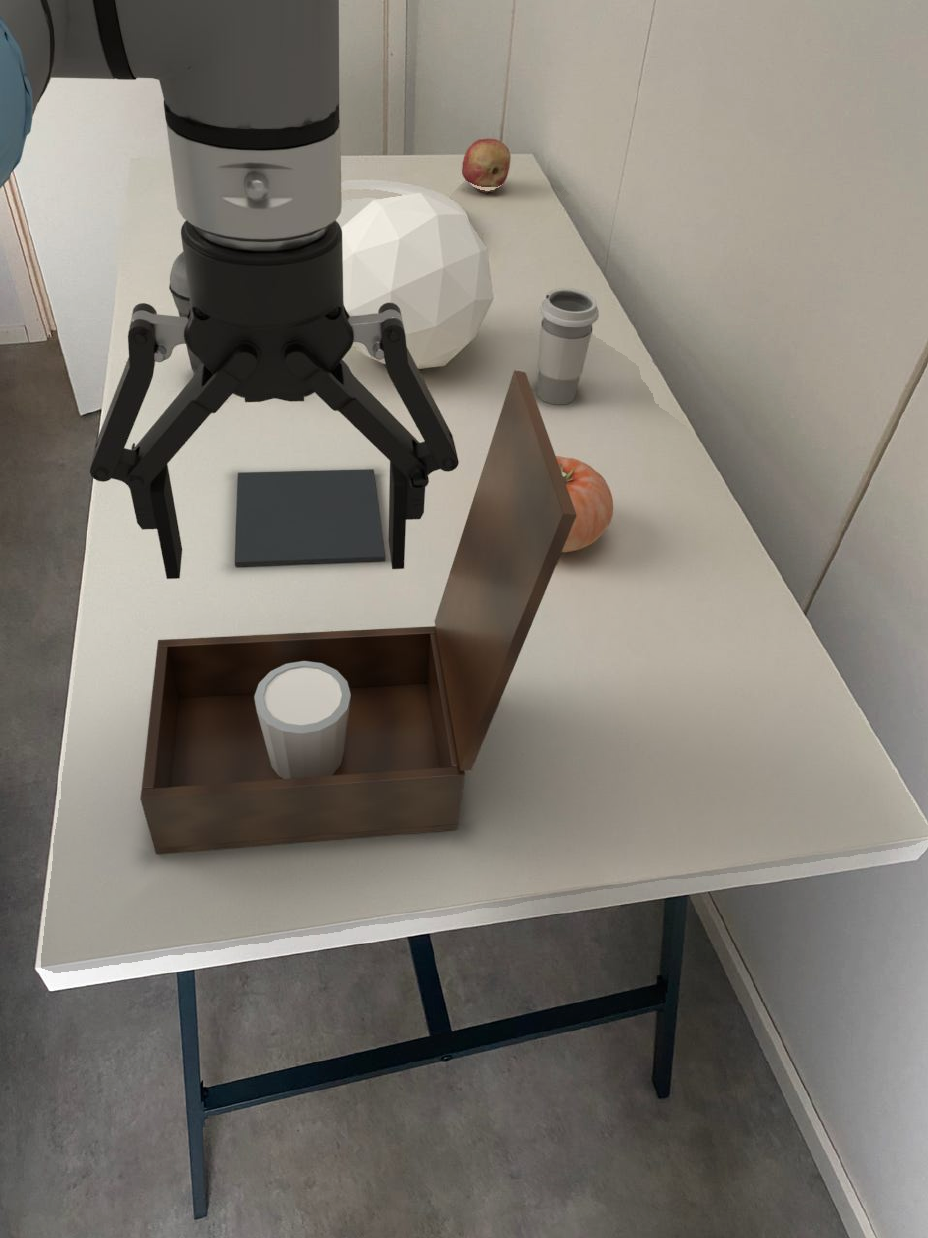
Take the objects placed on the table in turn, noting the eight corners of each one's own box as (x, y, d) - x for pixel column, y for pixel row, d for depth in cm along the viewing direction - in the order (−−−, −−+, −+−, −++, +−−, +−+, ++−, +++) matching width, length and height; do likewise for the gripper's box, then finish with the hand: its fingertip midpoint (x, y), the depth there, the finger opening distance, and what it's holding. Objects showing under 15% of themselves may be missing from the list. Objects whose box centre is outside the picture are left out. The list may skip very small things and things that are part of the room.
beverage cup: (184, 398, 109) (158, 222, 95) (181, 365, 114) (156, 193, 100) (249, 394, 111) (233, 220, 97) (244, 361, 116) (227, 191, 102)
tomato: (477, 520, 97) (484, 455, 92) (561, 490, 102) (573, 426, 97) (541, 584, 91) (552, 518, 86) (627, 548, 96) (644, 484, 90)
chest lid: (563, 513, 51) (577, 515, 51) (513, 369, 61) (525, 371, 62) (460, 771, 66) (471, 771, 66) (434, 621, 76) (443, 621, 76)
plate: (244, 242, 139) (243, 226, 137) (336, 180, 158) (336, 166, 156) (421, 290, 132) (422, 273, 131) (495, 219, 151) (496, 204, 150)
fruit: (462, 198, 156) (465, 146, 151) (458, 180, 162) (462, 129, 156) (509, 200, 157) (515, 149, 152) (504, 182, 163) (509, 132, 157)
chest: (155, 855, 68) (140, 799, 63) (170, 697, 78) (157, 639, 73) (458, 830, 71) (465, 775, 67) (434, 682, 81) (438, 625, 77)
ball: (434, 390, 127) (534, 267, 120) (402, 419, 109) (518, 276, 101) (321, 291, 125) (416, 159, 117) (270, 304, 106) (378, 148, 99)
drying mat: (235, 566, 90) (234, 562, 89) (238, 476, 100) (237, 472, 99) (385, 561, 92) (385, 556, 92) (373, 473, 102) (373, 468, 101)
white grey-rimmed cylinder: (245, 776, 72) (237, 716, 67) (284, 710, 77) (279, 649, 72) (330, 802, 71) (328, 743, 66) (364, 733, 76) (365, 674, 71)
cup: (532, 374, 119) (545, 281, 110) (585, 383, 118) (603, 290, 110) (524, 405, 113) (537, 310, 105) (580, 414, 113) (598, 319, 105)
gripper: (-40, 251, 41) (69, 611, 56) (536, 255, 45) (493, 590, 59) (-5, 182, 46) (85, 528, 61) (507, 191, 50) (475, 514, 65)
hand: (287, 559), depth 60 cm, fingers open, 13 cm apart
